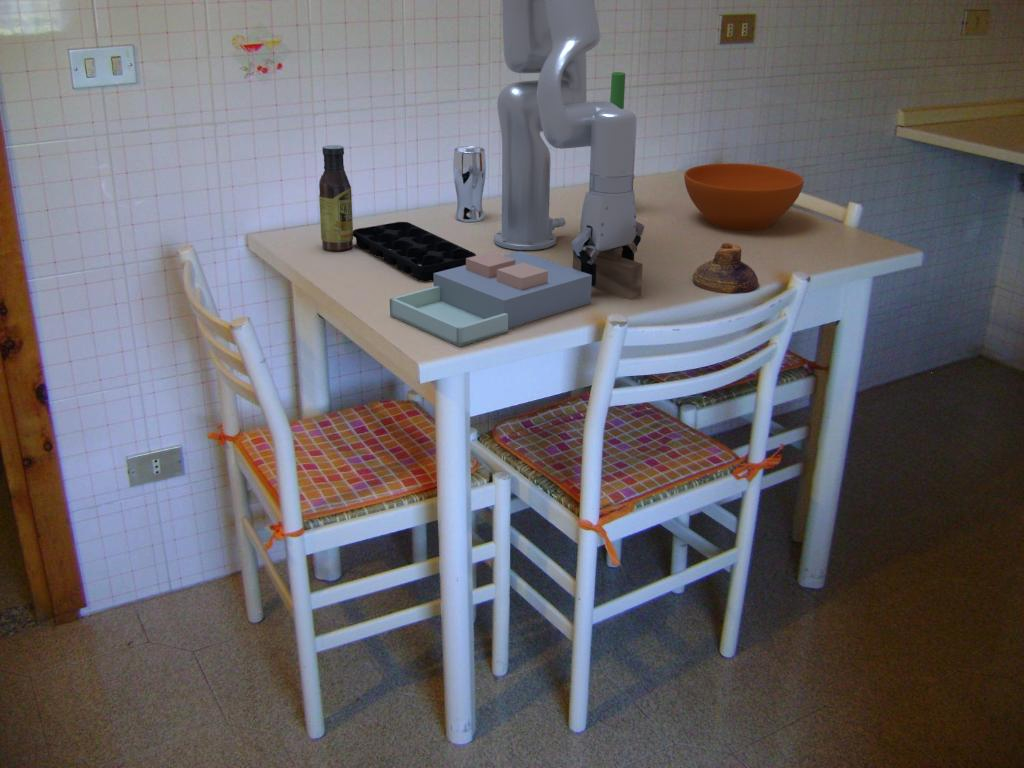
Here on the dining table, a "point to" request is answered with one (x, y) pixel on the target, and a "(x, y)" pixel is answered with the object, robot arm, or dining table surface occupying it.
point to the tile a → (488, 264)
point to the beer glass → (469, 182)
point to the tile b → (522, 276)
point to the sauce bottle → (335, 201)
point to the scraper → (615, 273)
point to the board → (515, 291)
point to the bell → (726, 272)
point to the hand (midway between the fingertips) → (607, 278)
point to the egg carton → (411, 249)
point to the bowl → (742, 193)
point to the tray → (445, 318)
